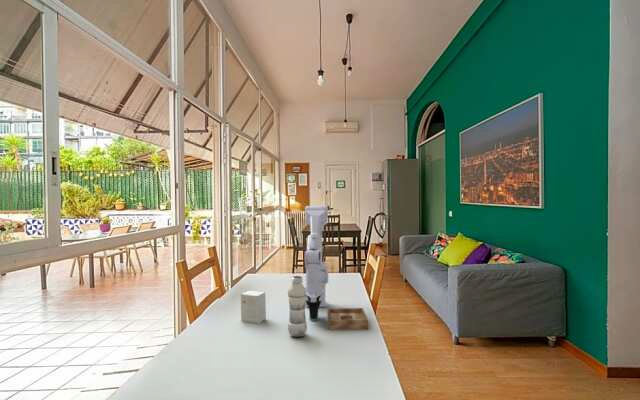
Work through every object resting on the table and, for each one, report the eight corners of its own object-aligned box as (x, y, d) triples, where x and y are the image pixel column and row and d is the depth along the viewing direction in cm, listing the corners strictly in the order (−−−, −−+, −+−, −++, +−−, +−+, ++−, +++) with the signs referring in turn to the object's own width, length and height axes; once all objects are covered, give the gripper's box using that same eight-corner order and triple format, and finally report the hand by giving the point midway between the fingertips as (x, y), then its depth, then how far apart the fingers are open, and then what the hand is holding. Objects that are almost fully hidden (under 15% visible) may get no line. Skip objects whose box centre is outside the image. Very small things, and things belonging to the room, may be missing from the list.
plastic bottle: (292, 340, 114) (292, 280, 114) (285, 333, 120) (284, 276, 120) (310, 336, 117) (309, 277, 117) (302, 330, 123) (301, 274, 123)
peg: (309, 321, 132) (309, 305, 132) (309, 318, 136) (309, 303, 136) (318, 321, 132) (318, 305, 132) (318, 318, 136) (318, 302, 136)
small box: (266, 319, 135) (266, 292, 135) (257, 323, 130) (257, 295, 130) (249, 316, 138) (249, 290, 138) (240, 320, 133) (240, 293, 133)
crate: (328, 329, 123) (328, 320, 123) (327, 316, 137) (327, 308, 137) (367, 329, 124) (367, 320, 124) (362, 316, 138) (362, 308, 138)
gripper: (324, 284, 127) (324, 321, 127) (323, 276, 141) (323, 309, 141) (305, 285, 127) (305, 322, 127) (306, 276, 141) (306, 309, 141)
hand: (313, 315), depth 134 cm, fingers open, 7 cm apart
